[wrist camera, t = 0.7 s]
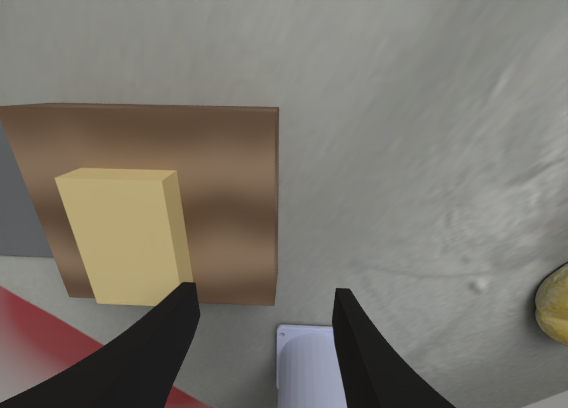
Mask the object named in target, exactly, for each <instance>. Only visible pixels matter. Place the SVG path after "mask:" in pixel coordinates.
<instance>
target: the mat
mask: <svg viewBox="0 0 568 408" xmlns="http://www.w3.org/2000/svg"><path fill="white" fill-rule="evenodd" d="M0 255H13V256H39V257H54V256H53V254H52V251H51V248H50V246H49V243H48V241H47V238H46V236H45V233H44V230H43V228H42V225H41V223H40V220H39V218H38V215H37V213H36V210H35V207H34V205H33V202H32V200H31V197H30V195H29V192H28V189H27V187H26V184H25V182H24V179H23V177H22V174H21V171H20V169H19V166H18V164H17V161H16V159H15V156H14V153H13V151H12V148H11V146H10V143H9V141H8V138H7V135H6V133H5V130H4V128H3V125H2V123H1V120H0Z"/></svg>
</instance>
